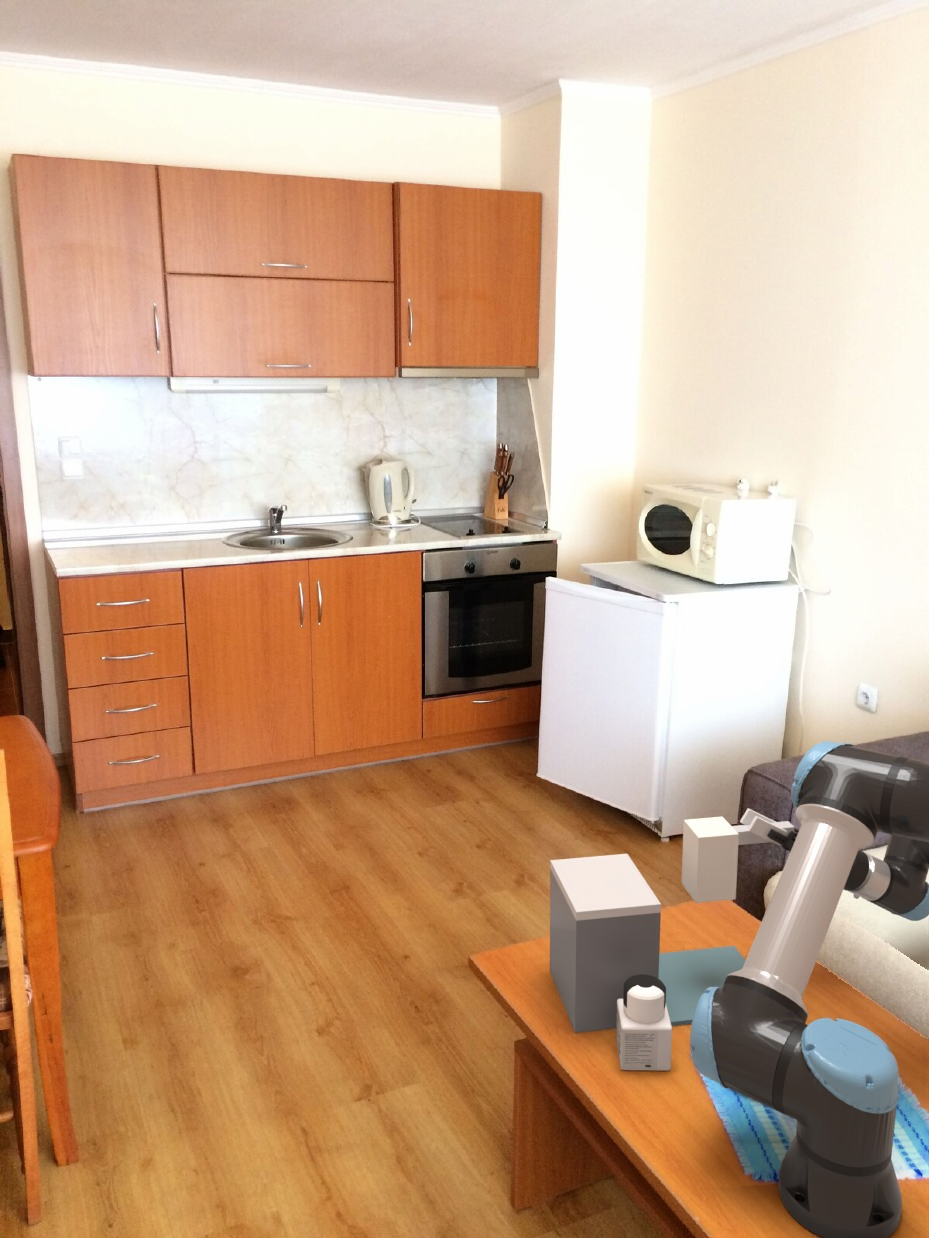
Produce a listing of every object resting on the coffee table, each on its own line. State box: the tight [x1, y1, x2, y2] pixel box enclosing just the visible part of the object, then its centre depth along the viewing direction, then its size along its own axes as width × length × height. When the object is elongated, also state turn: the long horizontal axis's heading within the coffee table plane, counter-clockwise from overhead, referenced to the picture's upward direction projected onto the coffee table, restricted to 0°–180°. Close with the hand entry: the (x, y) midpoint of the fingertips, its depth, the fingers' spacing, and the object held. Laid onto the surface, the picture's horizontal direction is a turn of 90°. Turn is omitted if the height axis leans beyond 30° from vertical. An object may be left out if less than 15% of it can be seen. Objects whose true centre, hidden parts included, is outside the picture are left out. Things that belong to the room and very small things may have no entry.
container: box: [615, 974, 673, 1072], centre depth 163 cm, size 8×8×13 cm
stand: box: [549, 853, 662, 1034], centre depth 177 cm, size 14×18×22 cm
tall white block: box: [681, 816, 796, 904], centre depth 178 cm, size 18×7×12 cm, turn 99°
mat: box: [659, 945, 746, 1027], centre depth 183 cm, size 20×20×1 cm
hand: (748, 819), depth 177 cm, fingers closed on tall white block, 2 cm apart
